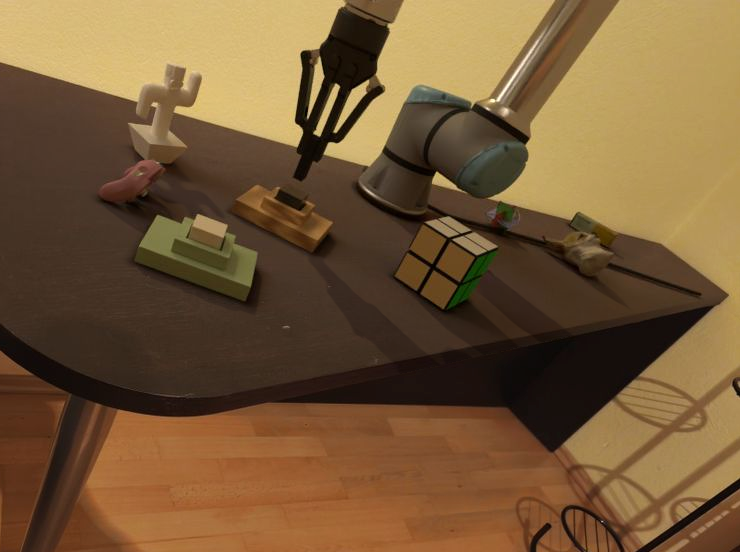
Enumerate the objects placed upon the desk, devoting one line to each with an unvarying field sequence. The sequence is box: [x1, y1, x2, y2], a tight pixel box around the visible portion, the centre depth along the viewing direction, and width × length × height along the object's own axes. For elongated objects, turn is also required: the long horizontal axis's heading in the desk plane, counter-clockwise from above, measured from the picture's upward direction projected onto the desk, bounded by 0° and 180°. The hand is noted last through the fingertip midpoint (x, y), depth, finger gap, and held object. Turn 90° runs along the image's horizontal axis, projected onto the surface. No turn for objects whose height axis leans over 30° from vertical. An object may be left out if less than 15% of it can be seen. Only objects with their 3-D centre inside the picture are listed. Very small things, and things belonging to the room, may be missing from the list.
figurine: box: [127, 61, 203, 165], centre depth 100 cm, size 7×9×15 cm
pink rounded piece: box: [98, 158, 166, 203], centre depth 88 cm, size 10×5×7 cm, turn 168°
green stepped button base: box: [134, 214, 259, 302], centre depth 80 cm, size 14×10×4 cm
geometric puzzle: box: [484, 200, 521, 236], centre depth 142 cm, size 7×7×8 cm
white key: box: [188, 213, 229, 250], centre depth 78 cm, size 4×4×2 cm
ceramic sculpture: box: [541, 230, 615, 278], centre depth 142 cm, size 11×9×15 cm
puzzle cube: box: [393, 216, 500, 312], centre depth 100 cm, size 10×10×10 cm
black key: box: [275, 182, 310, 211], centre depth 99 cm, size 4×4×2 cm
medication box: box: [568, 211, 619, 248], centre depth 172 cm, size 12×3×4 cm, turn 46°
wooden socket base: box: [231, 184, 334, 253], centre depth 100 cm, size 14×10×4 cm
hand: (299, 177), depth 97 cm, fingers closed
